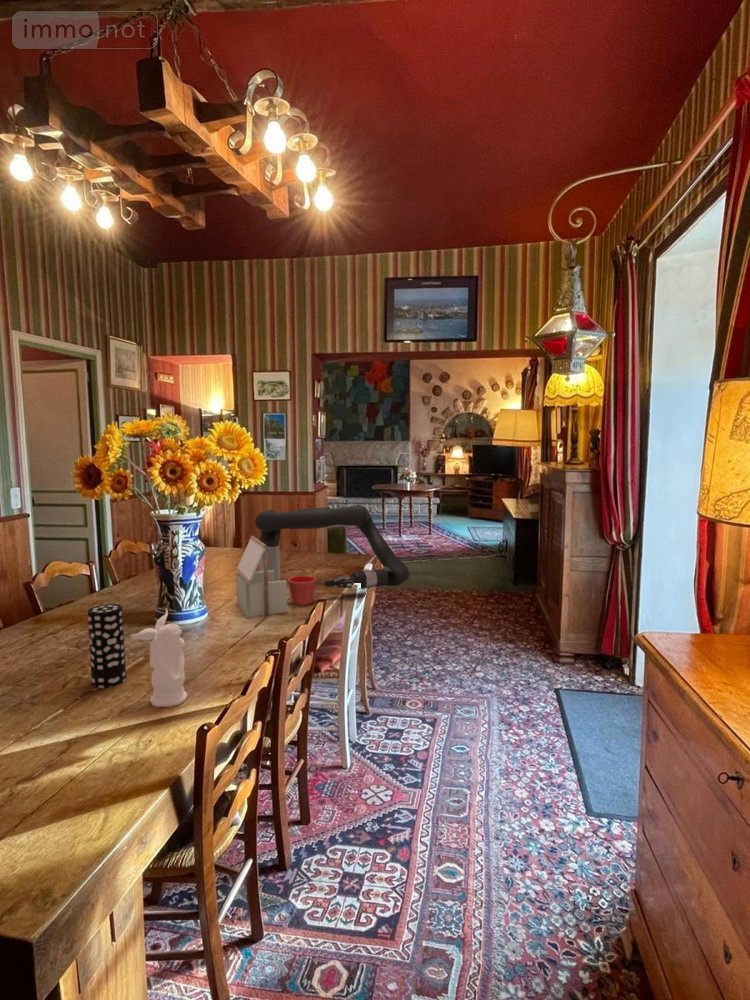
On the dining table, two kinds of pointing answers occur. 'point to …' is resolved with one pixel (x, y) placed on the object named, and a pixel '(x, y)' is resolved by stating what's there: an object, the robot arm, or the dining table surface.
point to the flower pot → (302, 589)
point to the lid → (251, 559)
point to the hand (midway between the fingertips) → (324, 583)
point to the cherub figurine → (166, 662)
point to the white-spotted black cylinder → (106, 645)
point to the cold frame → (261, 594)
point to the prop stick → (266, 584)
